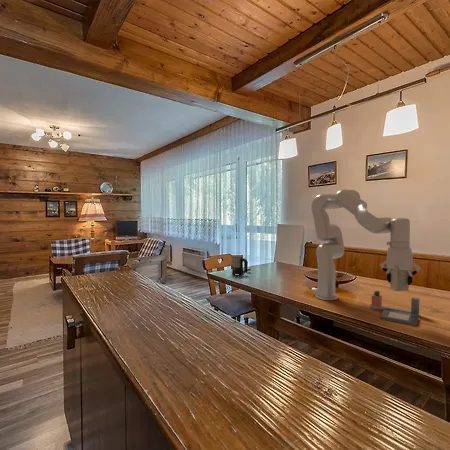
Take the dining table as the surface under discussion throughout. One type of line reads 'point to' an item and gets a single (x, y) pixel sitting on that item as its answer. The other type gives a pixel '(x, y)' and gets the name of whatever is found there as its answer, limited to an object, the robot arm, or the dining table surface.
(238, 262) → the milk frother
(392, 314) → the plate
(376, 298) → the capped bottle
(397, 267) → the skincare box
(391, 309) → the rail
